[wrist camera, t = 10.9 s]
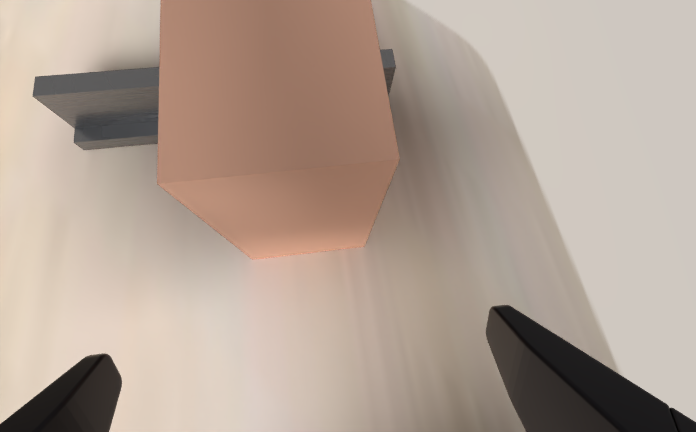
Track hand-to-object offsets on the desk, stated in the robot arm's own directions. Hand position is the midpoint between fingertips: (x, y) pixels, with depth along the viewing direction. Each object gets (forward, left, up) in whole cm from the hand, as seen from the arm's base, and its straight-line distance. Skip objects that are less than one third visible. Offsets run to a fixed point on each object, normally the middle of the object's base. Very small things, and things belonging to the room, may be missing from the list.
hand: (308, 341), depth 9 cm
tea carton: (+6, -3, -8) cm, 11 cm away
